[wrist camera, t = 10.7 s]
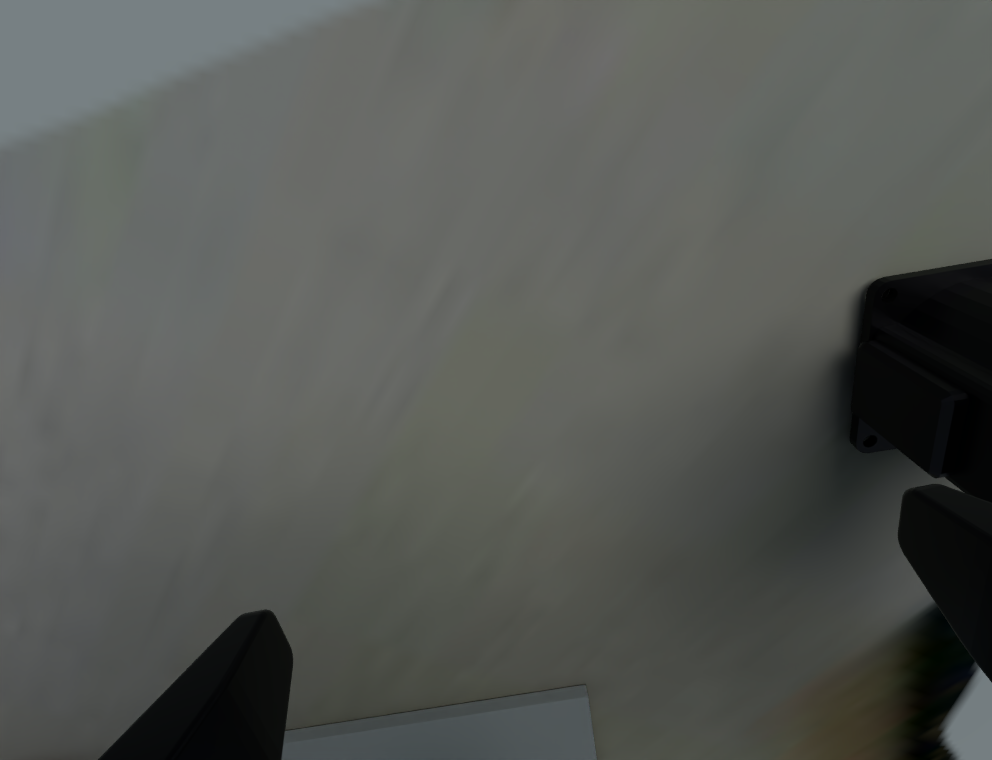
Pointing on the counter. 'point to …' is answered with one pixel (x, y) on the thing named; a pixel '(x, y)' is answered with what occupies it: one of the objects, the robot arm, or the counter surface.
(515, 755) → the slate pad
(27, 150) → the counter surface
